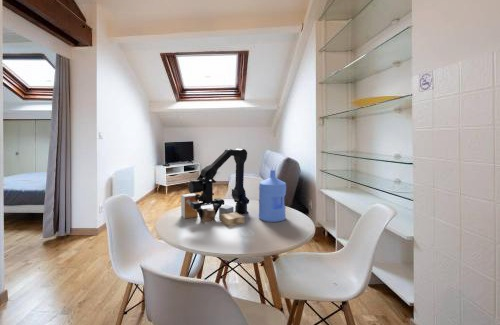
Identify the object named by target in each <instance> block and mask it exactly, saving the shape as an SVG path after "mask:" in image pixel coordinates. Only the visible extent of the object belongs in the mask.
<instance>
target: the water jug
mask: <svg viewBox="0 0 500 325" xmlns="http://www.w3.org/2000/svg"><path fill="white" fill-rule="evenodd" d="M269 171H270V173H269V174H270V176H269V178H266V179H263V180H262V181H260V182H259V184H258V192H259V193H258V197H259V198H258V218H259V219H260V220H261V221H264V222H268V223H278V222H283V221H284V220H286V215H287V214H286V205H285V196H286V194H287V183H286V182H285V181H283V180H281V179H279V178H277V176H276V172H277V171H276V169H275V170H272V169H271V170H269Z"/></svg>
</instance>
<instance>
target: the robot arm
mask: <svg viewBox="0 0 500 325" xmlns="http://www.w3.org/2000/svg"><path fill="white" fill-rule="evenodd" d="M231 157H233V160H234V162H235V185H234V188H233V189H231V197H232V199H233V201H234V203H235V208H234V209H235V210H234V212H237V213H239V214H241V215H244V214H249V211H248V204H250V199H249V198H248V197H247V195H246V194H247V193H246V190H245V188H244V179H245V178H244V176H245V174H244V173H245V162H246V161H247V158H248V151H247V150H246V149H244V148H235V149H231V148H230V149H229V148H225V150H224V151H223V152H222V153H221V154H220V155H219V156H218V157H217V158H216V159H214V161H213V162H212V163H211V164H209V165H207V166H205V167H204V168H202V169H201V170H200V174H199V175H198V177H197V178H196V180H190V181H189V182H190V183H189V184H188V187H187V188H188V191H189V194H192V193H194V194H196V195H195V199H196V200H198V202H197V201H195V202H191V203H190V207H191V208H193V209H196V210H197V212H198V217H199V219H200V221H202V209H203V208H202V207H203V206H209V205H212V209H213V210H215V217H216V215H217V213H218V212H219V208H220V207H221V206H224V205H225V200H224V199H223V198H220V197H218V198H214V189H213V188H214V186H213V184H216V183H217V181H216V180H215V177H216V175H217V173H218V170H219V169H220V168H221V167H222V166H223V165H224V164H225V163H226V162H227V161H228V160H229V159H230V158H231ZM200 193H201V194H200ZM213 198H214V199H213Z"/></svg>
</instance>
